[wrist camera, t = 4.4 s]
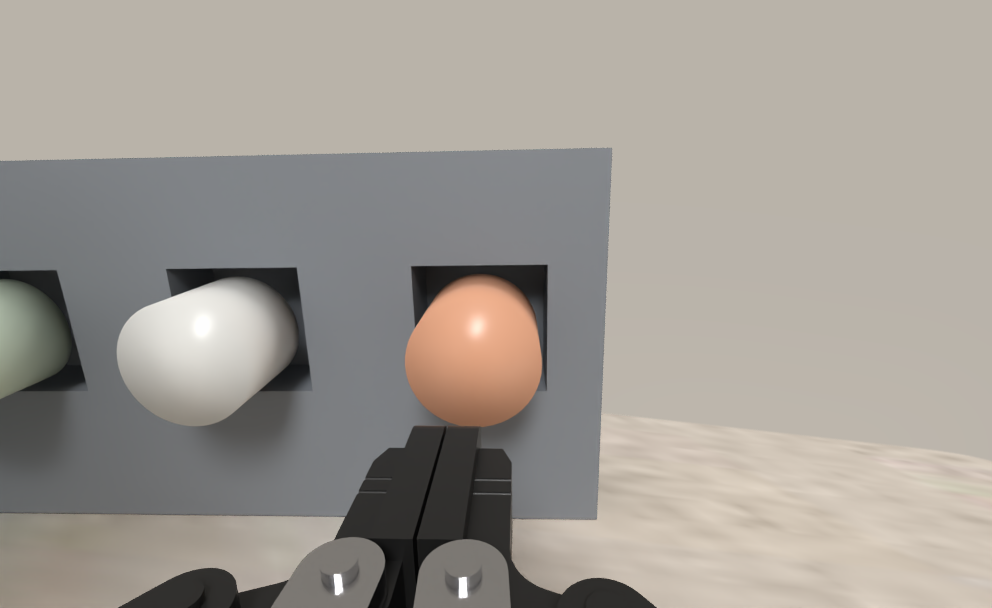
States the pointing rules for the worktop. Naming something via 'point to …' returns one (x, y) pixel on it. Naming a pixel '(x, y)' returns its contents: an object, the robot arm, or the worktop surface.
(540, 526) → the worktop surface
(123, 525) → the worktop surface
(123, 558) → the worktop surface
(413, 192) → the grey button panel
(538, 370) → the peach round button
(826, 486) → the worktop surface
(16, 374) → the sage button
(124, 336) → the white button
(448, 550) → the robot arm
